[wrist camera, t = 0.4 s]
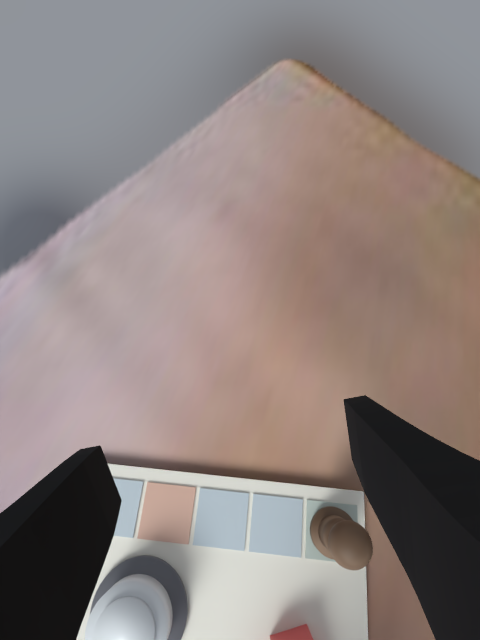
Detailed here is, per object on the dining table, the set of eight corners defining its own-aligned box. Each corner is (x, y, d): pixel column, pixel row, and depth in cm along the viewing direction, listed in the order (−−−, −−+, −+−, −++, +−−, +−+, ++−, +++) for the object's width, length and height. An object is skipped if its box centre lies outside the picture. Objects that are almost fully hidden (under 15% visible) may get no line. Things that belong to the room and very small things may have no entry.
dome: (165, 672, 27) (156, 696, 24) (88, 662, 27) (71, 684, 25) (178, 578, 29) (171, 590, 27) (107, 569, 30) (93, 580, 27)
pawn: (355, 559, 31) (386, 586, 24) (309, 554, 31) (327, 579, 24) (354, 508, 32) (383, 520, 26) (310, 503, 33) (328, 514, 26)
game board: (365, 696, 28) (372, 709, 27) (50, 655, 30) (40, 665, 28) (360, 490, 34) (366, 492, 33) (96, 462, 35) (89, 462, 34)
